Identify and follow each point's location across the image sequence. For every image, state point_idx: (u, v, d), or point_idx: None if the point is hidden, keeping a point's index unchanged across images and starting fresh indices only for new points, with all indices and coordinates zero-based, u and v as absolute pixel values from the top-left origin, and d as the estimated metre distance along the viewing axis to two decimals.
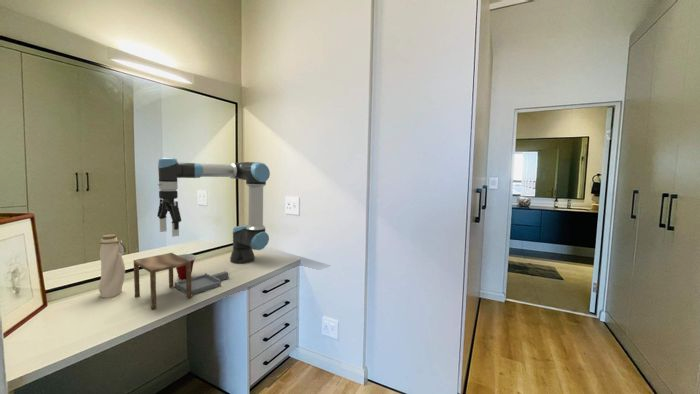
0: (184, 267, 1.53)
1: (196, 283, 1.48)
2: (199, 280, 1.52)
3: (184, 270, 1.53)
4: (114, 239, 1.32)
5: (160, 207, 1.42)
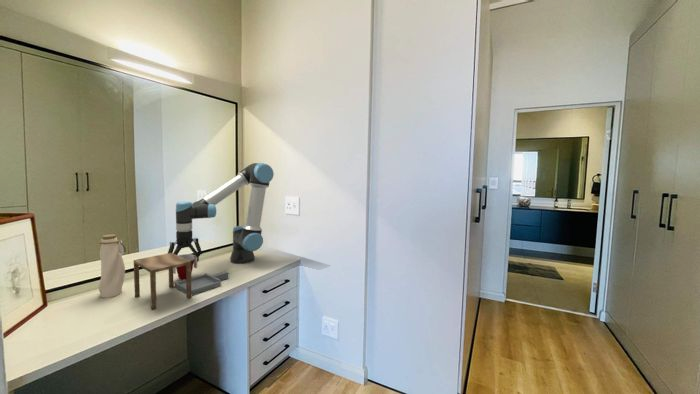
0: (184, 267, 1.53)
1: (196, 283, 1.48)
2: (199, 280, 1.52)
3: (184, 270, 1.53)
4: (114, 239, 1.32)
5: (195, 245, 1.61)
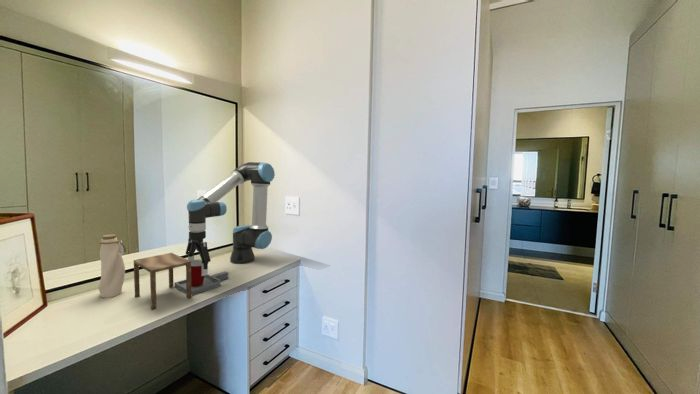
0: None
1: None
2: None
3: None
4: (114, 239, 1.32)
5: (189, 246, 1.48)
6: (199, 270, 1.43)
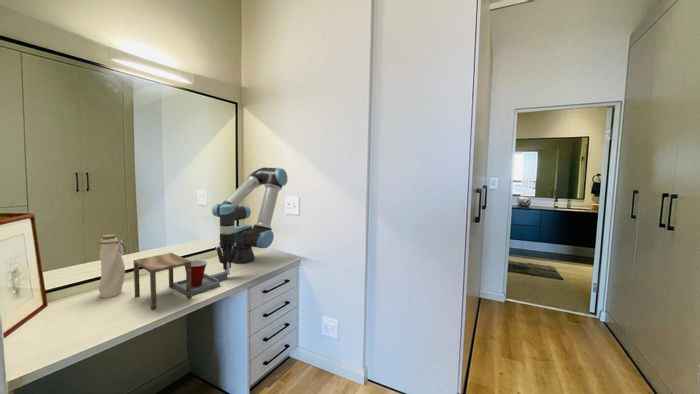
0: (204, 269, 1.48)
1: None
2: None
3: (203, 273, 1.48)
4: (114, 239, 1.32)
5: (232, 249, 1.62)
6: (198, 270, 1.43)
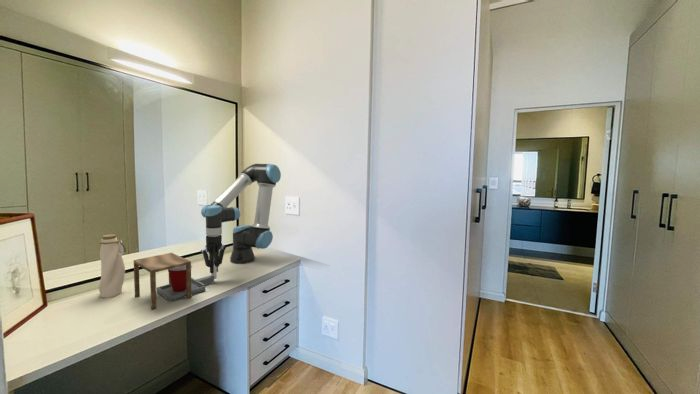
0: None
1: None
2: None
3: None
4: (114, 239, 1.32)
5: (219, 252, 1.56)
6: (182, 274, 1.37)
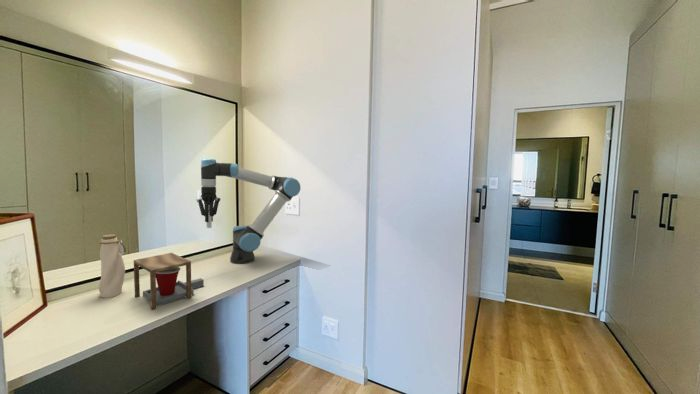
0: None
1: None
2: None
3: (176, 280, 1.37)
4: (114, 239, 1.32)
5: (214, 204, 1.67)
6: (169, 278, 1.32)
